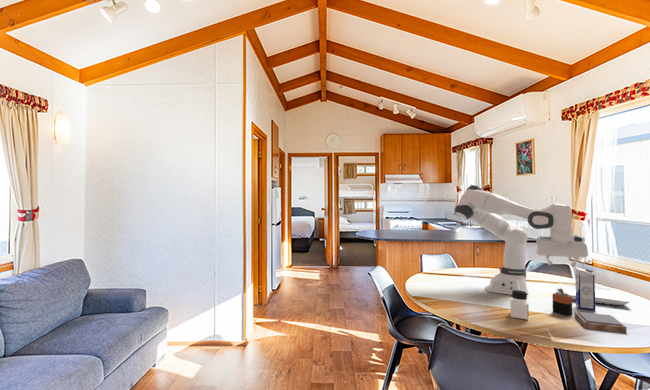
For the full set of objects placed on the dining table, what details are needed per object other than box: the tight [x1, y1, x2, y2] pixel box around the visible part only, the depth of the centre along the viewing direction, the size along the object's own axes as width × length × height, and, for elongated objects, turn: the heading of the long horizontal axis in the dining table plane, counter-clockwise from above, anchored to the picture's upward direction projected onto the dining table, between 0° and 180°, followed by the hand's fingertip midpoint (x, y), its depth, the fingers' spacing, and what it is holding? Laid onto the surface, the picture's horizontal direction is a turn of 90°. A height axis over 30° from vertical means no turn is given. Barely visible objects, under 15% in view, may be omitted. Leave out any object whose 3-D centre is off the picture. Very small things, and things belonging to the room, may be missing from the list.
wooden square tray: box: [574, 311, 627, 334], centre depth 147 cm, size 14×14×3 cm
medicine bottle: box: [510, 290, 529, 321], centre depth 158 cm, size 7×7×12 cm
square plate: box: [557, 283, 630, 306], centre depth 188 cm, size 27×27×4 cm
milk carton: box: [574, 266, 596, 312], centre depth 169 cm, size 7×7×20 cm
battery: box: [552, 291, 573, 317], centre depth 161 cm, size 4×7×10 cm, turn 30°
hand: (561, 265), depth 161 cm, fingers open, 8 cm apart
